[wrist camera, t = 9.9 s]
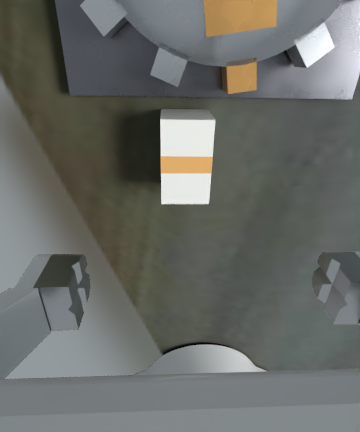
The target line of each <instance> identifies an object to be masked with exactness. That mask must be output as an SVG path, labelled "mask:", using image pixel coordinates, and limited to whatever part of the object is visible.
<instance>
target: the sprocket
mask: <svg viewBox="0 0 360 432" xmlns="http://www.w3.org/2000/svg"><path fill="white" fill-rule="evenodd" d="M343 1H344V0H85V1H84V2H83V3H82V4H81V5H80V6H81V8H82V9H83V10H84V12H85V13H86V14H87V16H88V17H89V18H90V19H91V21H92V22H93V23H94V25H95V26H96V27H97V29H98V30H99V31H100V33H101V34H102V35H103V36H104V37H106V38H111V37H112V36H113V35H114V34H115V33H116V32H117V31H118V30H119V29H120V28H121V27H122V26H123V25H124V24H125V23H126V22H127V21H129V22H130V23H131V24H132V25H133V26H134V27H135V28H136V29H137V30H138V31H139V32H140V33H141V34H142V35H143V36H145V37H146V38H147V39H149V40H150V41H151V42H153V43H154V44H155V45H157V46H158V47H159V49H158V52H157V55H156V58H155V61H154V64H153V68H152V71H151V74H150V75H152V76H154V77H156V78H159V79H161V80H163V81H165V82H167V83H170V84H172V85H174V86H176V87H178V85H179V82H180V80H181V77H182V74H183V72H184V69H185V66H186V64H187V61H190V62H195V63H199V64H203V65H210V66H221V71H222V90H223V91H224V92H225V93H227V94H233V93H239V92H246V91H253V90H257V62H259V61H261V60H264V59H267V58H270V57H272V56H275V55H277V54H279V53H281V52H283V51H285V50H286V51H287V53H288V55H289V57H290V59H291V61H292V63H293V65H294V67H301V68H308V67H309V66H310V65H312V64H313V63H314V62H316V61H317V60H318V59H320V58H321V57H322V56H324V55H325V54H326V53H328V52H329V51H330V50H332V49H333V48H334V47H335V46H334V44H333V42H332V39H331V37H330V34H329V32H328V30H327V27H326V25H325V21H326V20H327V19H328V18H329V17H330V16H331V15H332V13H333V12H334V11H335V10H336V9H337V8H338V7H339V6H340V5H341V4H342V3H343Z"/></svg>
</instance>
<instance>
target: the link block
mask: <svg viewBox="0 0 360 432" xmlns="http://www.w3.org/2000/svg"><path fill="white" fill-rule="evenodd" d="M214 131H215V119H214V118H213V116H212V115H211V113H210V112H209V111H208V110H199V109H161V116H160V139H161V204H209V196H210V183H211V172H212V160H213V144H214Z"/></svg>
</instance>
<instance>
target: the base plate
mask: <svg viewBox="0 0 360 432" xmlns="http://www.w3.org/2000/svg"><path fill="white" fill-rule="evenodd" d="M84 1H85V0H55V5H56V11H57V17H58V23H59V30H60V36H61V42H62V48H63V55H64V61H65V67H66V74H67V80H68V86H69V92H70V95H88V96H158V97H228V98H298V99H352V97H353V94H354V90H355V87H356V84H357V80H358V77H359V73H360V0H344V1H343V3H342V4H341V5H340V6H339V7H338V8H337V9H336V10H335V11H334V12H333V13H332V15H331V16H330V17H329V18H328V19H327V20H326V21H325V25H326V27H327V30H328V32H329V34H330V37H331V39H332V42H333V44H334V46H335V47H334V48H333V49H332V50H330V51H329V52H328V53H326V54H325V55H324V56H322V57H321V58H320V59H318V60H317V61H316V62H314V63H313V64H312V65H310V66H309V67H308V68H301V67H294V65H293V63H292V61H291V59H290V57H289V55H288V53H287V51H286V50H285V51H283V52H281V53H279V54H277V55H275V56H272V57H270V58H267V59H264V60H261V61H259V62H257V90H253V91H246V92H239V93H233V94H227V93H225V92H224V91H223V90H222V71H221V66H210V65H203V64H199V63H195V62H190V61H187V64H186V66H185V69H184V72H183V74H182V77H181V80H180V82H179V85H178V87H176V86H174V85H172V84H170V83H167V82H165V81H163V80H161V79H159V78H156V77H154V76H152V75H150V74H151V71H152V68H153V64H154V61H155V58H156V55H157V52H158V49H159V47H158V46H157V45H155V44H154V43H153V42H151V41H150V40H149V39H147V38H146V37H145V36H143V35H142V34H141V33H140V32H139V31H138V30H137V29H136V28H135V27H134V26H133V25H132V24H131V23H130V22H129V21H127V22H126V23H125V24H124V25H123V26H122V27H121V28H120V29H119V30H118V31H117V32H116V33H115V34H114V35H113V36H112V37H111V38H106V37H104V36H103V35H102V34H101V33H100V31H99V30H98V29H97V27H96V26H95V25H94V23H93V22H92V21H91V19H90V18H89V17H88V16H87V14H86V13H85V12H84V10H83V9H82V8H81V6H80V5H81V4H82V3H83V2H84Z"/></svg>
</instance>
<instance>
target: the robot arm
mask: <svg viewBox="0 0 360 432" xmlns="http://www.w3.org/2000/svg"><path fill="white" fill-rule="evenodd" d="M317 262H318V264H319V266H320V267H319V268H318V269H317V270H316V271H314V274H313V277H312V287H313V290H314V293H315V295H316V296H317V298H318V299H319V300H321V301H323V302H324V303H325V306H324V309H325V311H326V313H327V314H328V316H329V317H330V319H331V321H332V322H333V324H359V326H360V251H356V252H327V253H322V254H321V255H320V256H319V258H318V261H317ZM86 266H87V262H86V257H85V256H84V255H72V254H71V255H69V254H66V255H65V254H54V255H52V254H39V255H36V256H35V257H34V258H33V260H32V261H31V263H30V265H29V266H28V268H27V269H26V271H25V272H24V274H23V275H22V277H21V278H20V280H19V281H18V283H17V285H16V286H15V288H12V289H11V288H9V289H7V290H6V291H4V292H2V293H1V294H0V432H360V369H330V370H297V371H265V370H263V369H261V368H258V367H256V366H255V365H254V364H253V363H252V362H251V361H250V360H249V359H248V358H247V357H246V356H245V355H244V354H242V353H240V352H239V351H236V350H234V349H232V348H228V347H225V346H219V345H192V346H187V347H182V348H179V349H176V350H173V351H171V352H169V353H167V354H165V355H163V356H162V357H160V358H159V359H157V360H156V361H155V362H154V363H153V364H152V365H151V366H150V367H149V368H148V369H146V370H144V371H141V372H139V373H137V374H135V375H129V376H95V377H65V378H64V377H62V378H32V379H31V378H29V379H5V378H6V377H7V376H8V375H9V374H10V373H11V372H12V371H13V370H14V369H15V368H16V367H17V366H18V365H19V364H20V363H21V362H22V361H23V360H24V359H25V358H26V357H27V356H28V355H29V354H30V353H31V352H32V351H33V350H34V349H35V348H36V347H37V346H38V345H39V344H40V343H41V342H42V341H43V340H44V339H45V338H46V337H47V336H48V335H49V334H50V333H51V331H63V330H78V329H79V326H80V323H81V320H82V316H83V313H84V312H83V307H82V306H83V305H84V304H86V303H87V300H88V297H89V291H90V279H89V274H87V273H86V272H85V269H86Z"/></svg>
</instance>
